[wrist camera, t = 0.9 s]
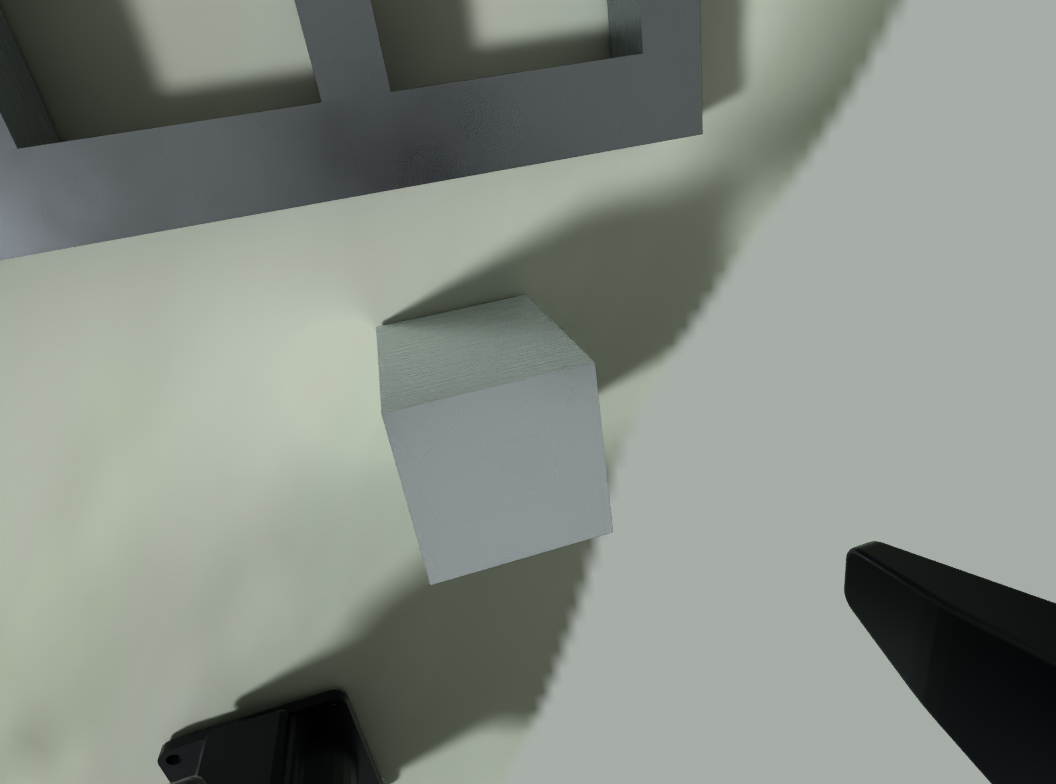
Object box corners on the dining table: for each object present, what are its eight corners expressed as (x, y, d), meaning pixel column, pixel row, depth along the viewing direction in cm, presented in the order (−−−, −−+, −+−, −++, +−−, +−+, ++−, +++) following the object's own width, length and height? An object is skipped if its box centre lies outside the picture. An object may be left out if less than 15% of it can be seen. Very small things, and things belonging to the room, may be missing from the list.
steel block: (545, 424, 20) (612, 532, 14) (412, 459, 19) (430, 585, 14) (526, 294, 18) (594, 362, 13) (376, 326, 17) (381, 413, 12)
